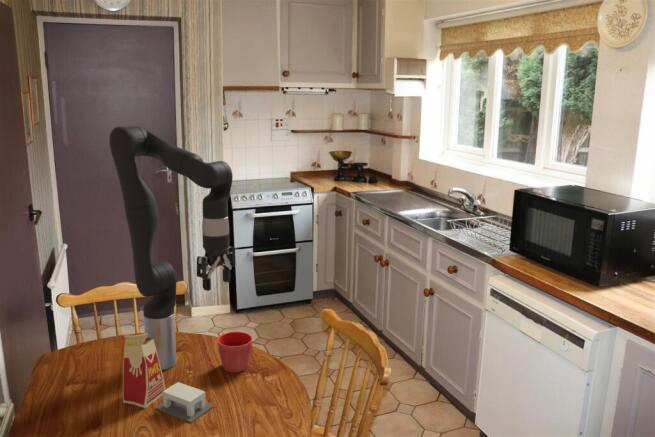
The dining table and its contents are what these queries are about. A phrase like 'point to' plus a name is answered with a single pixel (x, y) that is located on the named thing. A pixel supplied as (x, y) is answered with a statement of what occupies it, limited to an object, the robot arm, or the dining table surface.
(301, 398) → the dining table surface
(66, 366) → the dining table surface
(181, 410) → the mat
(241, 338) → the flower pot
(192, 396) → the stool
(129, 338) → the milk carton
